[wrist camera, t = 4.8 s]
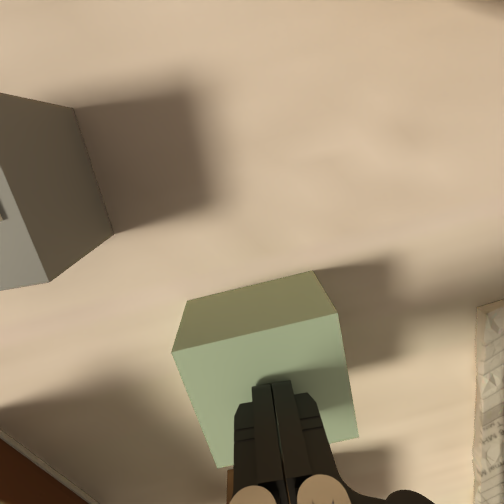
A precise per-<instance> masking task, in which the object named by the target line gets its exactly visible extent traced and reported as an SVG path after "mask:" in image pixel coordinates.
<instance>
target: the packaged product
mask: <svg viewBox="0 0 504 504" xmlns="http://www.w3.org/2000/svg"><path fill="white" fill-rule="evenodd" d="M475 347H476V368H477V375H476V399H475V419H474V440H473V449H472V456H473V460H472V463H473V471H474V478H475V479H474V504H504V299H503V300H500V301H496V302H493V303H490V304H487V305H483V306H480V307H477V316H476V333H475Z"/></svg>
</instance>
